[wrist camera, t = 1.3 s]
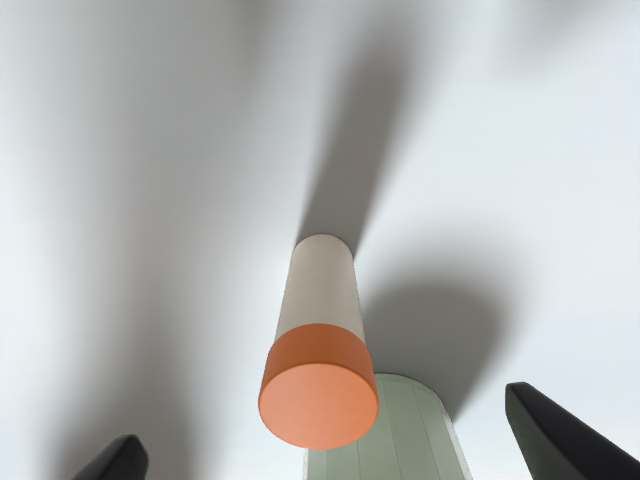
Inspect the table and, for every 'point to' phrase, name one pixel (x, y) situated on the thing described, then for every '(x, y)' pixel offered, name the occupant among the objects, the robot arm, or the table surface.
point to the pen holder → (396, 440)
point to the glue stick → (319, 353)
